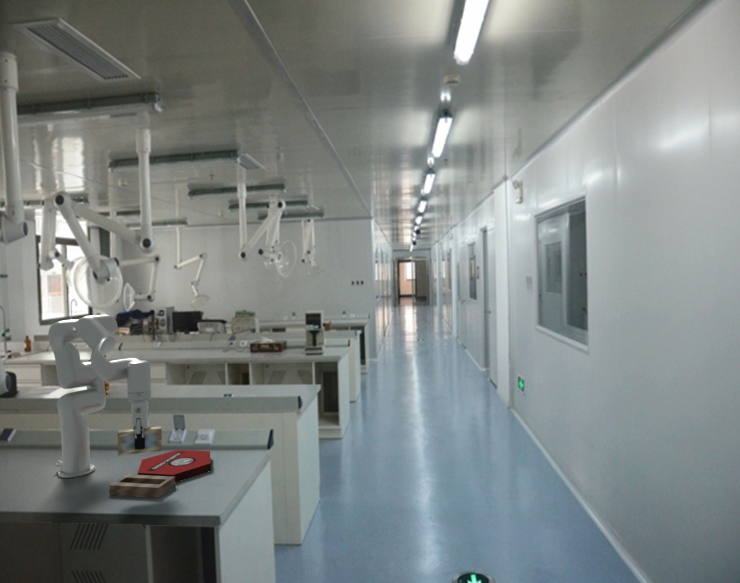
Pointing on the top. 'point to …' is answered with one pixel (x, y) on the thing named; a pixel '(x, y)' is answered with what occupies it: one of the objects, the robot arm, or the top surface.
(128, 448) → the tan rectangular slab
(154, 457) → the plaque
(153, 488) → the tan shallow box
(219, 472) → the top surface
